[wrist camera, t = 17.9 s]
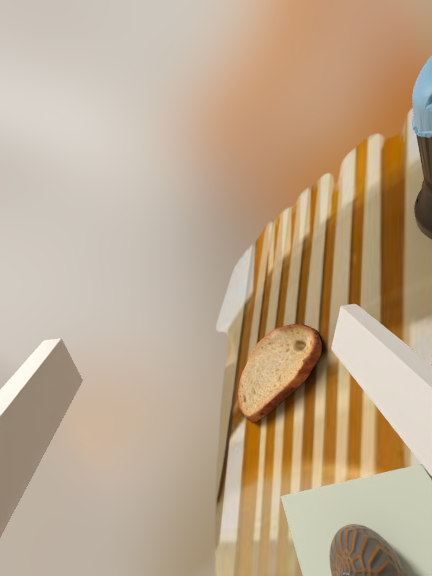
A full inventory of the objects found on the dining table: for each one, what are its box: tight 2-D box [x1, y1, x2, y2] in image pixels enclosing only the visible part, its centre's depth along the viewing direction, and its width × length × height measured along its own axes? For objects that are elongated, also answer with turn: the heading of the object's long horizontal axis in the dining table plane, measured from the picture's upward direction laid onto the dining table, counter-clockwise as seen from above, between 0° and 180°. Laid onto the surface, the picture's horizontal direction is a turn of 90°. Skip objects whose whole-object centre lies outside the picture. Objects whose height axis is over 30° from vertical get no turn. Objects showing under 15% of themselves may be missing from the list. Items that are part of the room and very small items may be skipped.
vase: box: [329, 524, 407, 576], centre depth 23 cm, size 7×7×9 cm
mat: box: [281, 464, 432, 576], centre depth 26 cm, size 20×14×1 cm
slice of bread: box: [238, 324, 322, 422], centre depth 43 cm, size 18×18×4 cm
